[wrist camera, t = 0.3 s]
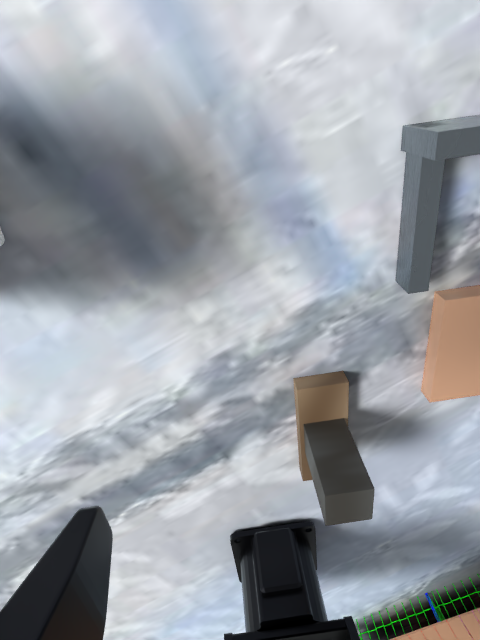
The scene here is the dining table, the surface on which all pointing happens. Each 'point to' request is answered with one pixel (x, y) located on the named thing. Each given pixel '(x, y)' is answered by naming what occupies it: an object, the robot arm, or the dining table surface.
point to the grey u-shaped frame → (427, 191)
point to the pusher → (331, 449)
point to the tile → (453, 345)
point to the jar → (1, 238)
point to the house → (441, 624)
